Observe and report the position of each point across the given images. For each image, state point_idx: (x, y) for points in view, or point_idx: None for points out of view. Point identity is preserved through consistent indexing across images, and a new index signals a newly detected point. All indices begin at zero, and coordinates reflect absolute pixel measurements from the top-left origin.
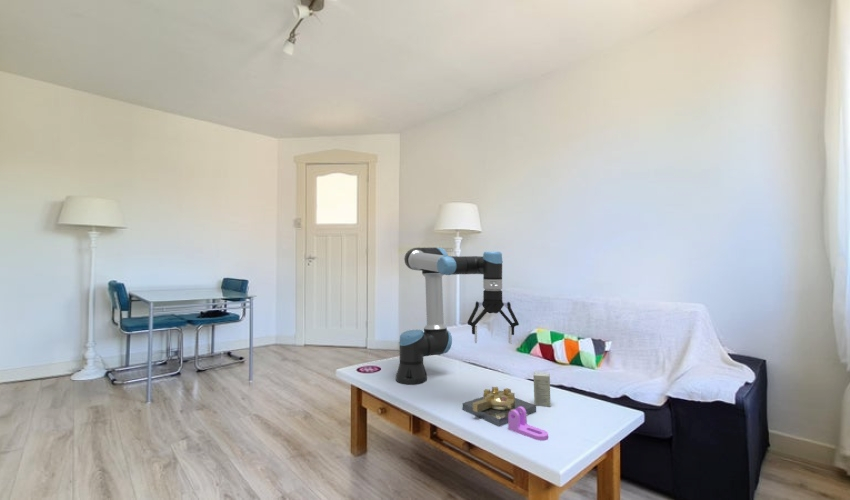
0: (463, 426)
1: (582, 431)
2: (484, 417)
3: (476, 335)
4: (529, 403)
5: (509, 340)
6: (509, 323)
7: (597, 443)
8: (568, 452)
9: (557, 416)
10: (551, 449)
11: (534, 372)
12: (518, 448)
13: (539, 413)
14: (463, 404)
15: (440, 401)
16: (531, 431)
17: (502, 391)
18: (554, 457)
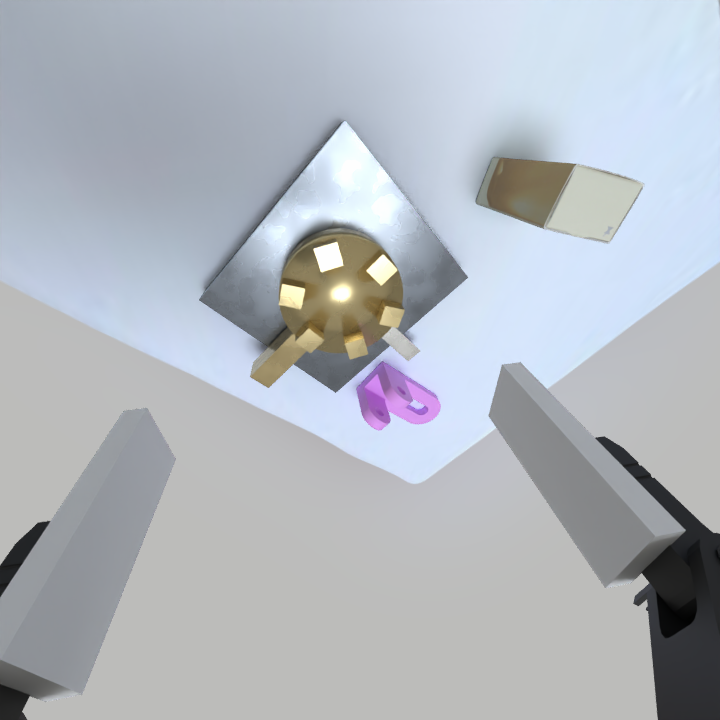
0: (241, 397)
1: (524, 366)
2: None
3: (138, 541)
4: (450, 262)
5: (505, 432)
6: (659, 664)
7: None
8: (453, 443)
9: (509, 292)
10: (427, 441)
11: (575, 167)
12: (367, 450)
13: None
14: (205, 301)
15: (75, 215)
16: (406, 409)
17: (360, 246)
18: (423, 460)
